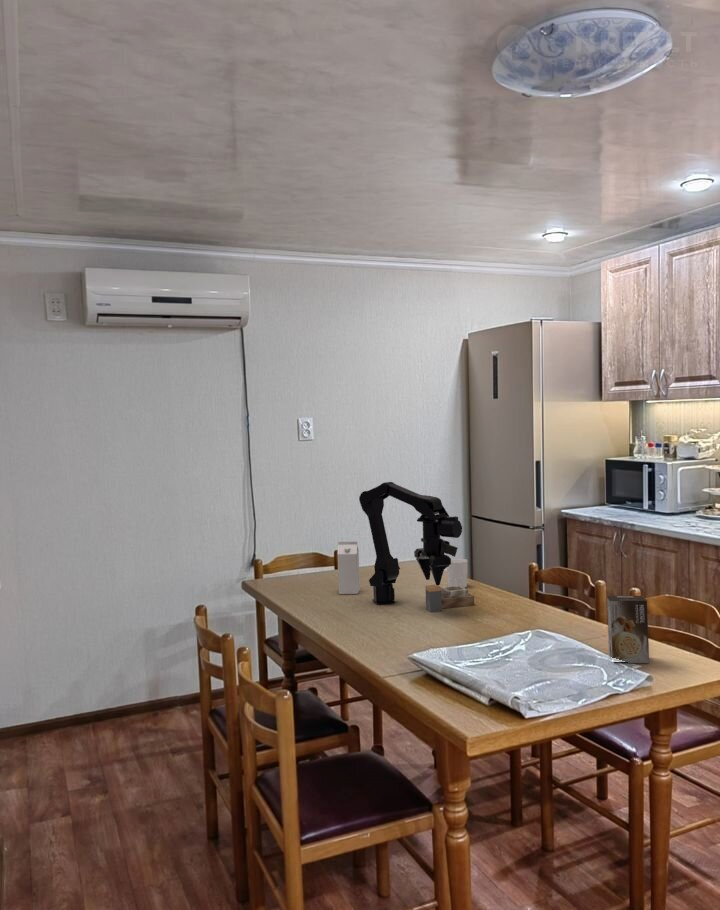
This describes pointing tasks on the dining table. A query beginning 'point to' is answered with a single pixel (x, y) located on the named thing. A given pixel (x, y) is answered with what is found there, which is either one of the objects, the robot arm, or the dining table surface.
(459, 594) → the walled box
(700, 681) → the dining table surface
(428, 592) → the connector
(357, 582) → the milk carton
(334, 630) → the dining table surface
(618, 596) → the coffee box
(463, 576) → the white cup
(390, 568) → the robot arm
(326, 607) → the dining table surface
